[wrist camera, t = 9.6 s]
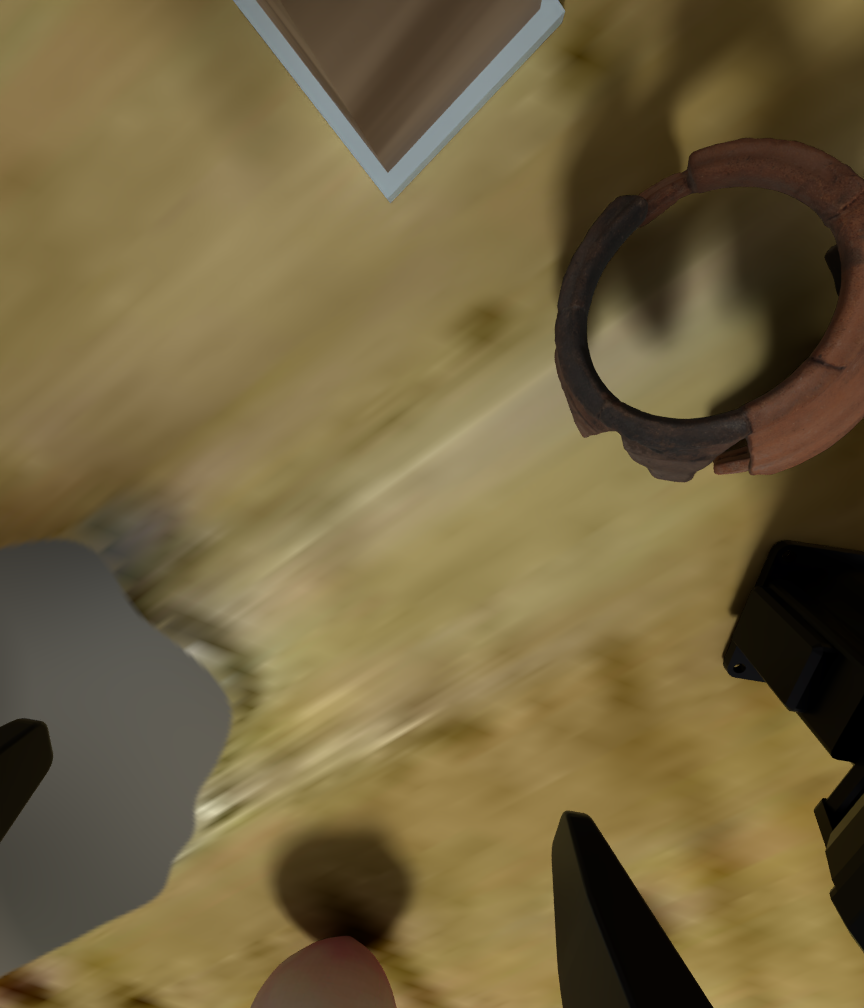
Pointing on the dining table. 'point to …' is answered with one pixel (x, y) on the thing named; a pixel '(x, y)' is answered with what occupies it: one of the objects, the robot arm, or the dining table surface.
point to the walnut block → (397, 57)
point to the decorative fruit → (328, 978)
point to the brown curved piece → (790, 405)
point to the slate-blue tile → (447, 122)
